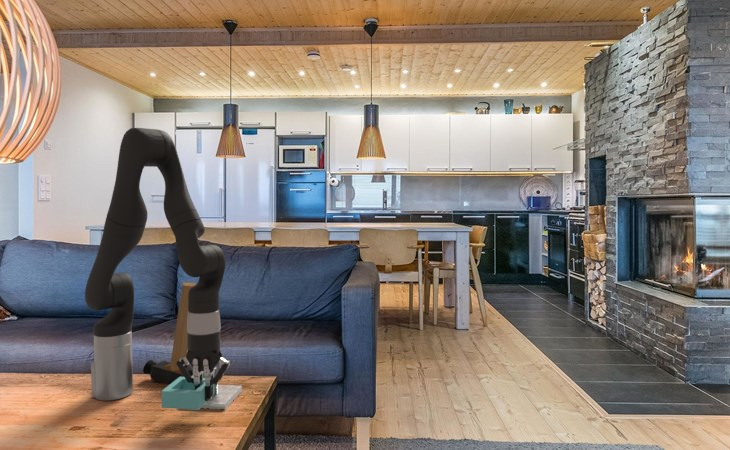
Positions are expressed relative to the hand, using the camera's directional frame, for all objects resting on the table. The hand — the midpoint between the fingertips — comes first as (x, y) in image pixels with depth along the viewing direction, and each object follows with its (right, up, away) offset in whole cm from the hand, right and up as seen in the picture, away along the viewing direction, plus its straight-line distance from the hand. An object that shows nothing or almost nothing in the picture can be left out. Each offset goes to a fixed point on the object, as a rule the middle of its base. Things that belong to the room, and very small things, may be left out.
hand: (204, 399), depth 116 cm
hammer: (-16, -4, +25) cm, 30 cm away
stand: (-2, -5, +13) cm, 14 cm away
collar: (-4, -1, 0) cm, 4 cm away
